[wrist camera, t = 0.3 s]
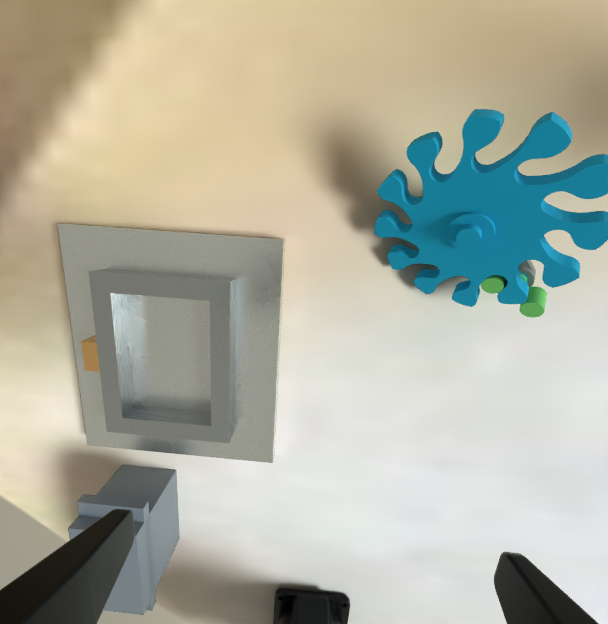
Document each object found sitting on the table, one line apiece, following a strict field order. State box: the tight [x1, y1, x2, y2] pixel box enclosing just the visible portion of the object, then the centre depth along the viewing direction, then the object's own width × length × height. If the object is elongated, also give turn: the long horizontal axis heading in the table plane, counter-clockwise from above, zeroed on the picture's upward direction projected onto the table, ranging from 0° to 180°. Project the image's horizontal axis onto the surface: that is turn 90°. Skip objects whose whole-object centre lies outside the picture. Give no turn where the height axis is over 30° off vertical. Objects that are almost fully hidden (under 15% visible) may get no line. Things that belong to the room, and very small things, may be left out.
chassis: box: [58, 224, 285, 463], centre depth 20 cm, size 16×14×2 cm
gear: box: [375, 109, 608, 317], centre depth 16 cm, size 11×6×10 cm
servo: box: [68, 465, 179, 615], centre depth 22 cm, size 9×4×6 cm, turn 176°
